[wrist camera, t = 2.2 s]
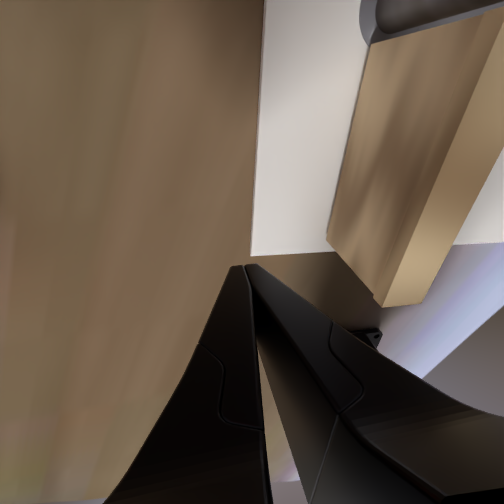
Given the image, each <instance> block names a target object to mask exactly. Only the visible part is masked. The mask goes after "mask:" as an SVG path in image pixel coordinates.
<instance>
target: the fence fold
mask: <svg viewBox="0 0 504 504" xmlns="http://www.w3.org/2000/svg"><path fill="white" fill-rule="evenodd" d="M503 147H504V6H503V7H500V8H496V9H493V10H489V11H485V12H484V14H482V15H478V16H475V17H471V18H467V19H463V20H460V21H456V22H452V23H448V24H445V25H441V26H437V27H433V28H430V29H426V30H422V31H419V32H415V33H411V34H407V35H404V36H400V37H396V38H392V39H389V40H385V41H381V42H377V43H374V44H371V47H370V51H369V56H368V60H367V64H366V69H365V73H364V77H363V82H362V86H361V90H360V95H359V99H358V103H357V108H356V112H355V116H354V120H353V125H352V129H351V133H350V138H349V142H348V146H347V151H346V155H345V159H344V164H343V168H342V172H341V177H340V181H339V185H338V190H337V194H336V198H335V203H334V207H333V211H332V216H331V220H330V224H329V229H328V233H327V237H326V241H327V242H328V243H329V244H330V245H331V246H332V248H333V249H334V250H335V251H336V252H337V253H338V254H339V255H340V257H341V258H342V259H343V260H344V261H345V262H346V263H347V265H348V266H349V267H350V268H351V269H352V270H353V271H354V273H355V274H356V275H357V276H358V277H359V278H360V279H361V280H362V282H363V283H364V284H365V285H366V286H367V287H368V288H369V290H370V291H371V292H372V293H373V294H374V296H373V298H374V299H375V300H376V302H377V303H378V304H379V305H380V306H381V307H382V308H383V307H393V306H402V305H412V304H421V303H422V301H423V299H424V297H425V295H426V293H427V292H428V290H429V288H430V286H431V284H432V282H433V280H434V278H435V276H436V275H437V273H438V271H439V269H440V267H441V265H442V263H443V261H444V259H445V257H446V256H447V254H448V252H449V250H450V248H451V246H452V244H453V242H454V240H455V238H456V237H457V235H458V233H459V231H460V229H461V227H462V225H463V223H464V221H465V219H466V218H467V216H468V214H469V212H470V210H471V208H472V206H473V204H474V202H475V201H476V199H477V197H478V195H479V193H480V191H481V189H482V187H483V185H484V183H485V182H486V180H487V178H488V176H489V174H490V172H491V170H492V168H493V166H494V164H495V163H496V161H497V159H498V157H499V155H500V153H501V151H502V149H503Z"/></svg>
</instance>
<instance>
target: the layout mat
mask: <svg viewBox="0 0 504 504" xmlns="http://www.w3.org/2000/svg"><path fill="white" fill-rule="evenodd" d="M376 3H377V0H264V14H263V31H262V48H261V66H260V83H259V100H258V118H257V135H256V152H255V169H254V187H253V204H252V221H251V239H250V255H251V256H261V255H279V254H297V253H315V252H333V251H335V250H334V249H333V248H332V246H331V245H330V244H329V243H328V242H327V241H326V237H327V233H328V229H329V224H330V220H331V216H332V211H333V207H334V203H335V198H336V194H337V190H338V185H339V181H340V177H341V172H342V168H343V164H344V159H345V155H346V151H347V146H348V142H349V138H350V133H351V129H352V125H353V120H354V116H355V112H356V108H357V103H358V99H359V95H360V90H361V86H362V82H363V77H364V73H365V69H366V64H367V60H368V56H369V51H370V47H371V44H374V43H377V42H381V41H385V40H389V39H392V38H396V37H400V36H404V35H407V34H411V33H415V32H419V31H422V30H426V29H430V28H433V27H437V26H441V25H445V24H448V23H452V22H456V21H460V20H463V19H467V18H471V17H475V16H478V15H482V14H484V12H485V11H489V10H493V9H496V8H500V7H503V6H504V1H503V2H500V3H497V4H493V5H490V6H486V7H483V8H479V9H476V10H473V11H469V12H466V13H462V14H459V15H455V16H452V17H448V18H445V19H442V20H438V21H435V22H431V23H428V24H424V25H421V26H418V27H414V28H411V29H407V30H404V31H400V32H397V33H393V34H386V33H384V32H382V31H381V30H380V29H379V27H378V25H377V22H376V17H375V9H376ZM497 242H504V147H503V149H502V151H501V153H500V155H499V157H498V159H497V161H496V163H495V164H494V166H493V168H492V170H491V172H490V174H489V176H488V178H487V180H486V182H485V183H484V185H483V187H482V189H481V191H480V193H479V195H478V197H477V199H476V201H475V202H474V204H473V206H472V208H471V210H470V212H469V214H468V216H467V218H466V219H465V221H464V223H463V225H462V227H461V229H460V231H459V233H458V235H457V237H456V238H455V240H454V242H453V244H452V245H460V244H478V243H497Z"/></svg>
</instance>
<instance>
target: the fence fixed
mask: <svg viewBox="0 0 504 504" xmlns="http://www.w3.org/2000/svg"><path fill="white" fill-rule="evenodd" d="M503 1H504V0H377V3H376V9H375V17H376V22H377V25H378V27H379V29H380V30H381V31H382V32H384V33H386V34H393V33H397V32H400V31H404V30H407V29H411V28H414V27H418V26H421V25H424V24H428V23H431V22H435V21H438V20H442V19H445V18H448V17H452V16H455V15H459V14H462V13H466V12H469V11H473V10H476V9H479V8H483V7H486V6H490V5H493V4H497V3H500V2H503Z"/></svg>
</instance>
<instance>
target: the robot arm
mask: <svg viewBox="0 0 504 504" xmlns="http://www.w3.org/2000/svg"><path fill="white" fill-rule="evenodd" d="M382 335H383V334H382V332H381V331H380V330H379V329H378V328H374V329H366V330H357V331H349V332H348V331H347V330H345V329H344V328H343V327H341V326H340V325H339V324H337V323H336V322H333V320H332V319H331V318H329V317H328V316H327V315H325V314H324V313H323V312H321V311H320V310H319V309H317V308H316V307H315V306H313V305H312V304H311V303H309V302H308V301H307V300H305V299H304V298H303V297H301V296H300V295H299V294H297V293H296V292H295V291H293V290H292V289H291V288H289V287H288V286H287V285H285V284H284V283H283V282H281V281H280V280H279V279H277V278H276V277H275V276H273V275H272V274H271V273H269V272H268V271H267V270H265V269H264V268H263V267H261V266H260V265H259V264H256V263H255V264H247V265H245V266H243V265H238V266H231V267H230V269H229V272H228V274H227V276H226V279H225V281H224V283H223V286H222V288H221V290H220V293H219V295H218V297H217V300H216V302H215V304H214V307H213V309H212V311H211V314H210V316H209V318H208V321H207V323H206V325H205V328H204V330H203V332H202V335H201V337H200V339H199V342H198V343H199V344H197V346H196V348H195V351H194V353H193V355H192V358H191V360H190V362H189V364H188V366H187V368H186V370H185V372H184V374H183V376H182V378H181V380H180V382H179V384H178V385H177V387H176V389H175V391H174V393H173V394H172V396H171V398H170V400H169V401H168V403H167V405H166V406H165V408H164V410H163V412H162V413H161V415H160V417H159V418H158V420H157V422H156V423H155V425H154V427H153V429H152V430H151V432H150V434H149V435H148V437H147V439H146V440H145V442H144V444H143V446H142V447H141V449H140V451H139V452H138V454H137V456H136V457H135V459H134V461H133V462H132V464H131V466H130V467H129V469H128V471H127V472H126V474H125V475H124V476H123V478H122V479H121V481H120V482H119V484H118V485H117V486H116V488H115V489H114V490H113V492H112V493H111V494H110V495H109V497H108V498H107V499H106V500H105V501H104V503H103V504H273V498H272V491H271V483H270V476H269V468H268V459H267V450H266V439H265V428H264V417H263V406H262V395H261V383H260V372H259V361H258V350H259V353H260V357H261V360H262V363H263V366H264V369H265V372H266V375H267V378H268V381H269V384H270V387H271V391H272V394H273V397H274V400H275V403H276V406H277V409H278V412H279V415H280V418H281V421H282V425H283V428H284V431H285V434H286V437H287V440H288V443H289V446H290V449H291V452H292V456H293V459H294V462H295V465H296V468H297V471H298V474H299V477H300V480H301V483H302V486H303V489H304V492H305V495H306V499H307V502H308V504H504V417H502V416H498V415H494V414H491V413H487V412H484V411H481V410H478V409H476V408H473V407H471V406H468V405H466V404H464V403H462V402H460V401H458V400H456V399H454V398H452V397H450V396H448V395H446V394H445V393H443V392H441V391H440V390H438V389H437V388H435V387H433V386H432V385H430V384H429V383H427V382H425V381H424V380H422V379H421V378H419V377H417V376H416V375H414V374H412V373H411V372H409V371H408V370H406V369H404V368H403V367H401V366H400V365H398V364H396V363H395V362H393V361H392V360H390V359H388V358H387V357H385V356H384V355H382V354H381V353H379V352H378V350H377V349H376V348H377V346H378V344H379V342H380V340H381V337H382ZM257 347H258V350H257Z"/></svg>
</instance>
